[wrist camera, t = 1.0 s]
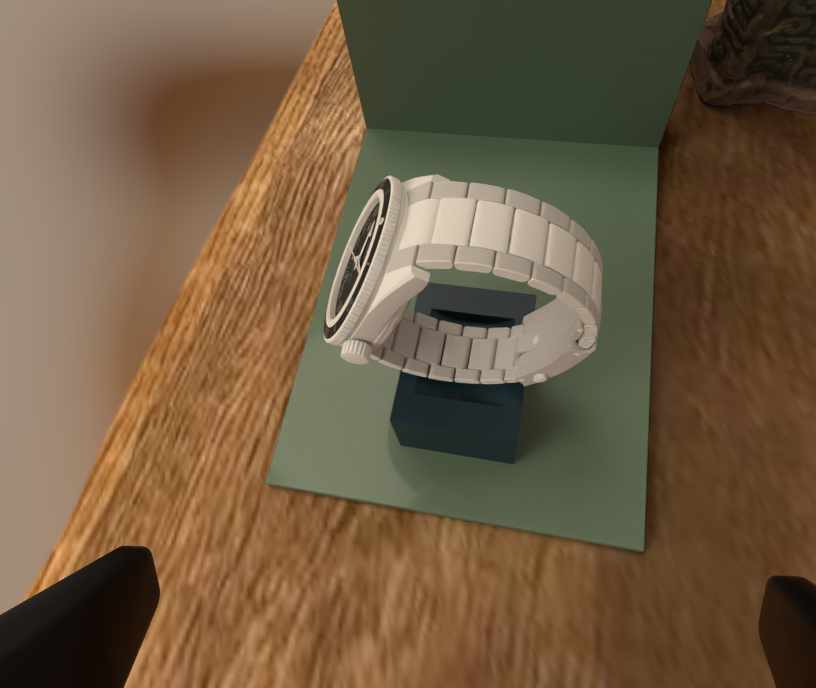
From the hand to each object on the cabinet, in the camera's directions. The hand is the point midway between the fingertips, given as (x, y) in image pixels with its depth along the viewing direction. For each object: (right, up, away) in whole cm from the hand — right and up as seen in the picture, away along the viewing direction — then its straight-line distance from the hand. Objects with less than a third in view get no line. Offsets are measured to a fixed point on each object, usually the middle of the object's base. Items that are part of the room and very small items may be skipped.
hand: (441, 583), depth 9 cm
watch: (+2, +2, +16) cm, 16 cm away
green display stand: (+3, +6, +18) cm, 19 cm away
